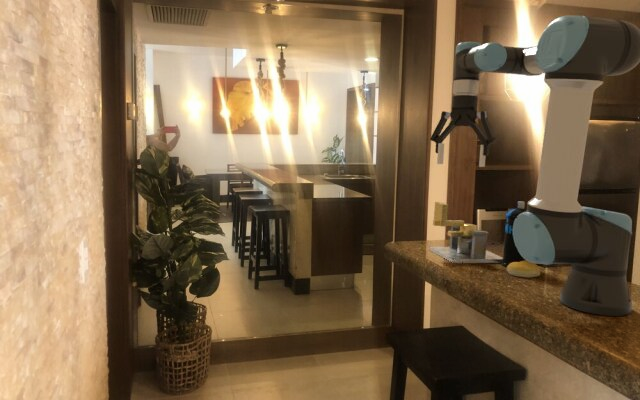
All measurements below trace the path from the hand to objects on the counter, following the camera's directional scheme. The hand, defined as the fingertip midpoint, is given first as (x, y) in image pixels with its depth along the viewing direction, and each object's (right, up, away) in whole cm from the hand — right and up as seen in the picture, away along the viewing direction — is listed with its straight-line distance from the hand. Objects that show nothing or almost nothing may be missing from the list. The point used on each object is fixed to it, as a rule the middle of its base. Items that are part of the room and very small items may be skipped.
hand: (460, 165), depth 164 cm
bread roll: (+16, -33, -9) cm, 37 cm away
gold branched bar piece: (+2, -23, +9) cm, 24 cm away
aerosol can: (+17, -31, 0) cm, 35 cm away
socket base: (+5, -29, +11) cm, 31 cm away
